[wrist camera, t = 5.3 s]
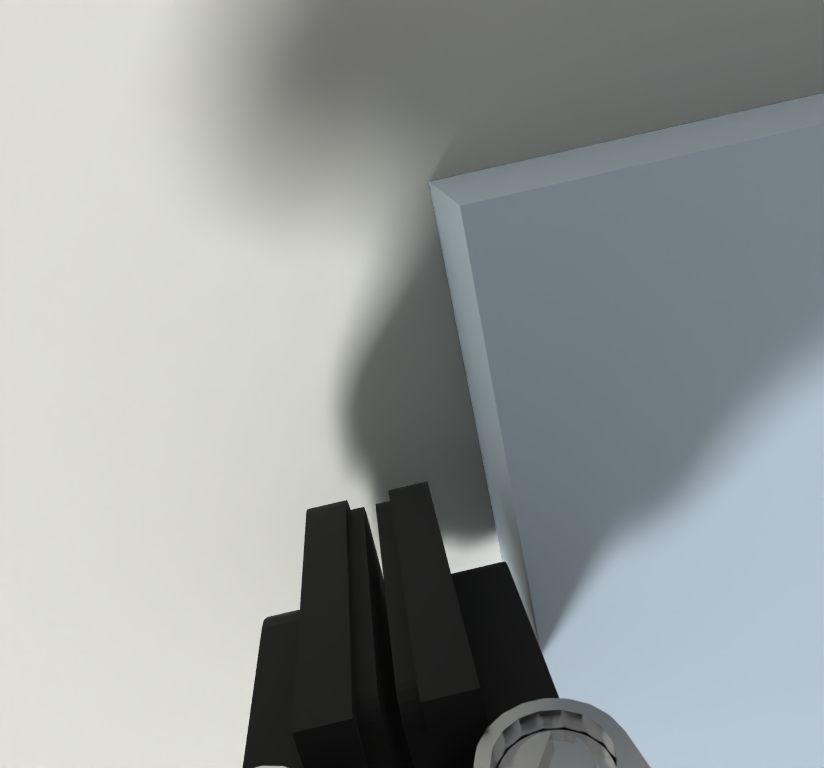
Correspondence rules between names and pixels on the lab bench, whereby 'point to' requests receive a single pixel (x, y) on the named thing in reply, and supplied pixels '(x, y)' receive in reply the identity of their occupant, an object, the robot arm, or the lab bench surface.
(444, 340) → the lab bench surface
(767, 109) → the board
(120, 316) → the lab bench surface
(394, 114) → the lab bench surface
